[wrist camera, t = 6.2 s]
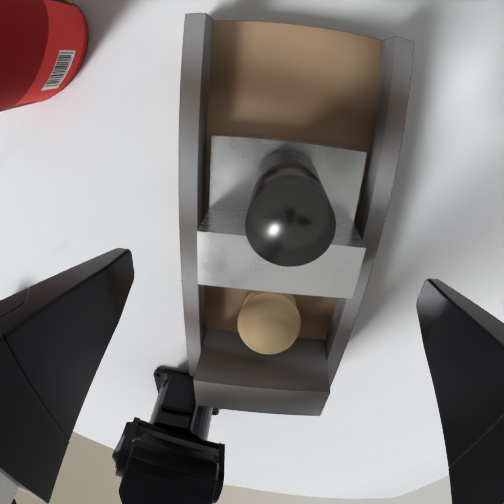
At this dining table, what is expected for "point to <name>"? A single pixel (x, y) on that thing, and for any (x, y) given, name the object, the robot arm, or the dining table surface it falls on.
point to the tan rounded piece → (269, 321)
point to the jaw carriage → (282, 216)
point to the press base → (290, 127)
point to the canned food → (39, 49)
